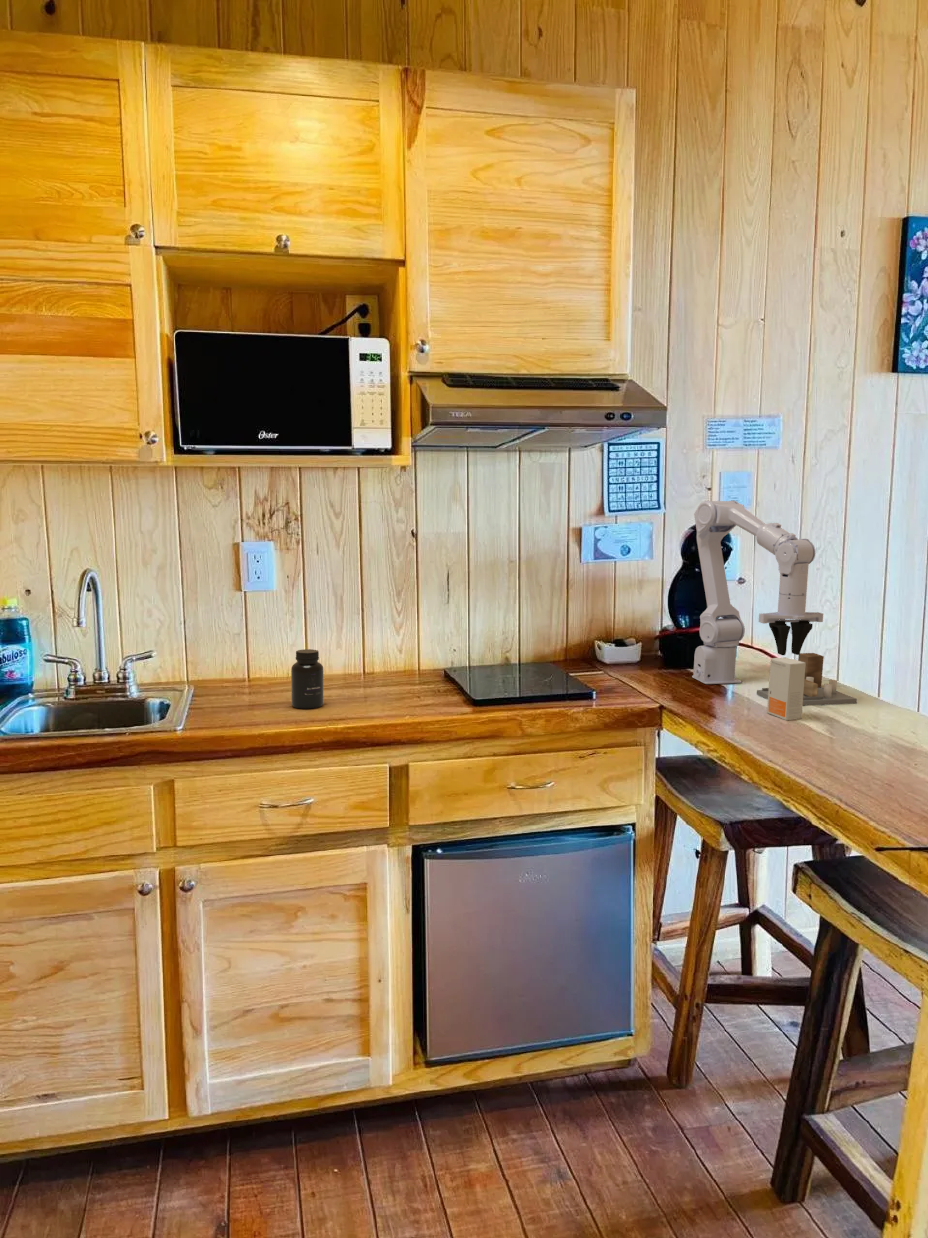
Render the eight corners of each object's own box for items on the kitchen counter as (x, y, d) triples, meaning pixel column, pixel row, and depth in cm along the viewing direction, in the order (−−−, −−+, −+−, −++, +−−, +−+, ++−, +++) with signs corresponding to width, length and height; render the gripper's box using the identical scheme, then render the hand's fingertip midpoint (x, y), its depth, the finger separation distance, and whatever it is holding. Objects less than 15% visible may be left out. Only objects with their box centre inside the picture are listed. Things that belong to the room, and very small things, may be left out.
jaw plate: (811, 697, 192) (812, 684, 191) (792, 689, 199) (792, 676, 199) (816, 697, 192) (817, 684, 191) (796, 689, 200) (797, 676, 199)
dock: (782, 706, 189) (783, 688, 188) (756, 694, 200) (757, 677, 199) (856, 703, 192) (857, 685, 192) (827, 691, 203) (828, 674, 202)
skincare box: (765, 713, 183) (769, 658, 181) (781, 711, 185) (785, 656, 183) (786, 721, 177) (790, 663, 176) (802, 719, 179) (806, 662, 177)
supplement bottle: (313, 711, 182) (312, 655, 180) (285, 707, 185) (284, 652, 183) (329, 703, 189) (328, 649, 187) (302, 700, 191) (301, 647, 189)
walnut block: (805, 689, 205) (808, 656, 203) (796, 685, 208) (798, 653, 207) (821, 689, 205) (823, 656, 204) (811, 685, 209) (813, 652, 208)
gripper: (772, 596, 186) (768, 658, 188) (833, 595, 189) (828, 656, 191) (755, 592, 193) (751, 652, 195) (814, 591, 196) (810, 650, 198)
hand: (788, 654), depth 193 cm, fingers open, 3 cm apart
